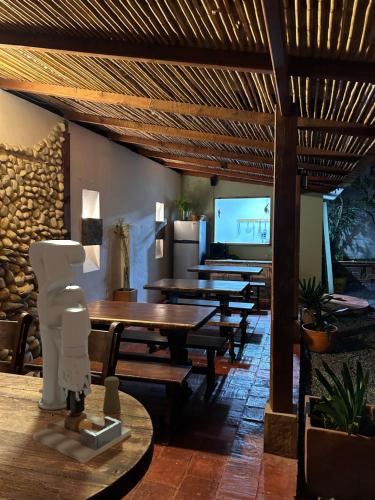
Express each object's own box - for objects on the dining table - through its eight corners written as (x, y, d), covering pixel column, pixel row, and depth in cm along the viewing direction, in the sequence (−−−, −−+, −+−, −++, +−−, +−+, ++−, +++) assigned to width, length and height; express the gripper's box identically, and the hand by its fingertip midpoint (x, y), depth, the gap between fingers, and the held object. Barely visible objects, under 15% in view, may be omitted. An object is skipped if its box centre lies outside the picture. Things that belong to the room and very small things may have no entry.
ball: (73, 428, 115) (78, 419, 113) (84, 423, 118) (89, 413, 117) (81, 438, 113) (86, 429, 111) (92, 433, 116) (97, 423, 115)
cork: (116, 414, 130) (116, 381, 130) (99, 412, 131) (99, 380, 131) (123, 406, 136) (123, 375, 136) (107, 404, 137) (106, 374, 137)
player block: (64, 429, 116) (64, 393, 116) (77, 423, 120) (77, 387, 120) (73, 433, 114) (72, 396, 114) (86, 426, 118) (86, 390, 118)
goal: (80, 444, 109) (80, 430, 108) (106, 429, 117) (106, 416, 117) (95, 450, 105) (95, 436, 105) (121, 435, 113) (121, 421, 113)
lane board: (33, 438, 114) (32, 428, 114) (81, 415, 129) (81, 406, 129) (84, 463, 102) (83, 452, 102) (131, 434, 117) (130, 424, 117)
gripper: (46, 348, 118) (47, 408, 119) (83, 357, 109) (84, 422, 109) (67, 343, 124) (68, 400, 125) (103, 351, 115) (104, 413, 115)
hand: (75, 410), depth 117 cm, fingers closed on player block, 3 cm apart
